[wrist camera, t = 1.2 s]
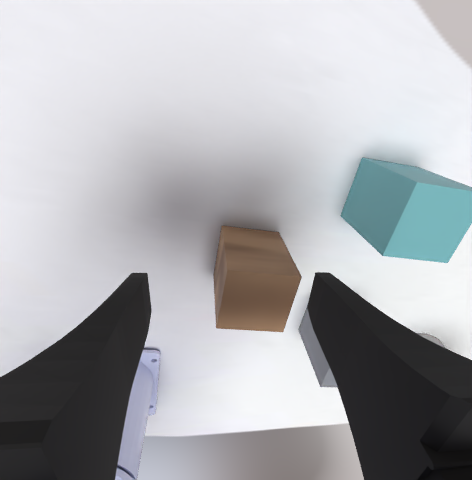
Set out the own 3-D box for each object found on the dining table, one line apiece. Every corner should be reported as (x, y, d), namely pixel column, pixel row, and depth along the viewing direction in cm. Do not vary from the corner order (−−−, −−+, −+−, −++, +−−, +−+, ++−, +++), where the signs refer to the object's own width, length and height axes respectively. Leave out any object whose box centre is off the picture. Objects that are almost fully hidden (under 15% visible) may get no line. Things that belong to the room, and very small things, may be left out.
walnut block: (266, 279, 24) (283, 332, 19) (213, 274, 24) (216, 328, 18) (278, 232, 22) (301, 276, 17) (221, 225, 22) (227, 270, 16)
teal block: (391, 222, 23) (447, 262, 18) (340, 215, 22) (382, 255, 17) (417, 166, 21) (489, 194, 16) (361, 157, 20) (417, 182, 15)
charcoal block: (341, 332, 28) (372, 388, 23) (298, 329, 28) (320, 386, 22) (357, 296, 26) (396, 348, 21) (312, 292, 26) (339, 345, 20)
